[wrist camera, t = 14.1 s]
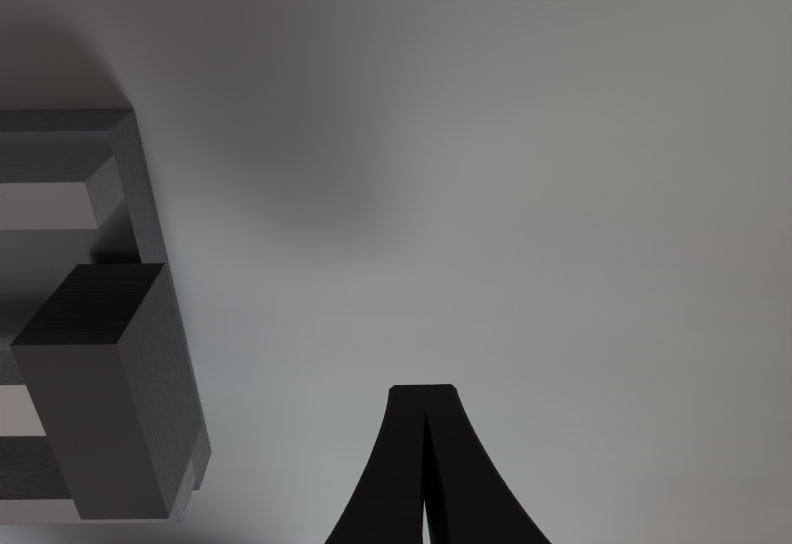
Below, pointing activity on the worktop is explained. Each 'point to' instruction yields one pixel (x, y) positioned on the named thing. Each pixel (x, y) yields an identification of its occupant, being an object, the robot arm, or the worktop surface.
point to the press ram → (107, 389)
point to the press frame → (70, 266)
